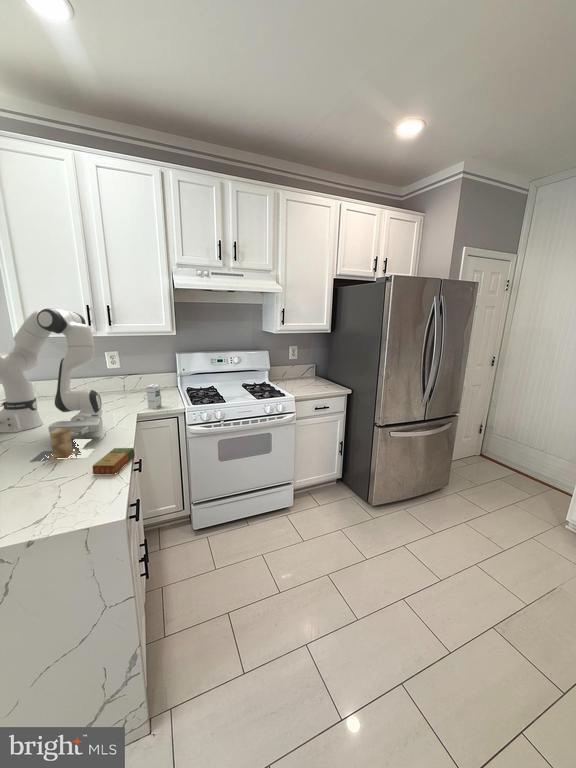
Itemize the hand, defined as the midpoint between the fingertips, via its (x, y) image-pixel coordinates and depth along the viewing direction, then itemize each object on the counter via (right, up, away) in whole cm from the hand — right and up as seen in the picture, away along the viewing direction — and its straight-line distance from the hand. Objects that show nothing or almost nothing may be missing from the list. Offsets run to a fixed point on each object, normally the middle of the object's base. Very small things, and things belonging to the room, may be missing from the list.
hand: (68, 433), depth 135 cm
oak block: (+2, -9, -5) cm, 10 cm away
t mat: (0, -7, +2) cm, 7 cm away
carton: (+27, -11, -12) cm, 31 cm away
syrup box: (+11, +6, +63) cm, 64 cm away
